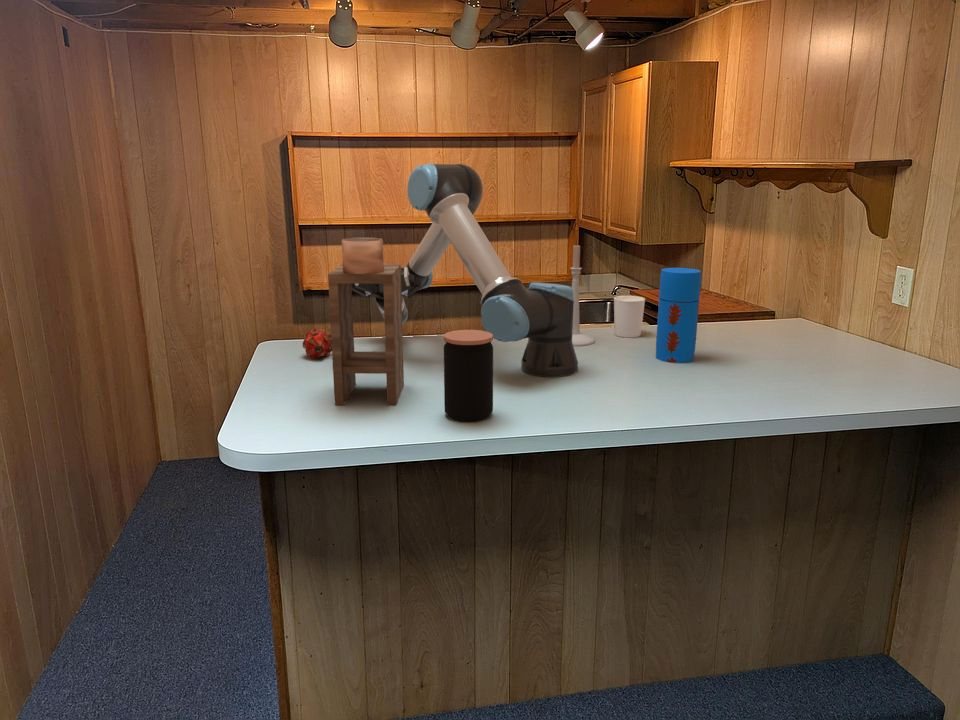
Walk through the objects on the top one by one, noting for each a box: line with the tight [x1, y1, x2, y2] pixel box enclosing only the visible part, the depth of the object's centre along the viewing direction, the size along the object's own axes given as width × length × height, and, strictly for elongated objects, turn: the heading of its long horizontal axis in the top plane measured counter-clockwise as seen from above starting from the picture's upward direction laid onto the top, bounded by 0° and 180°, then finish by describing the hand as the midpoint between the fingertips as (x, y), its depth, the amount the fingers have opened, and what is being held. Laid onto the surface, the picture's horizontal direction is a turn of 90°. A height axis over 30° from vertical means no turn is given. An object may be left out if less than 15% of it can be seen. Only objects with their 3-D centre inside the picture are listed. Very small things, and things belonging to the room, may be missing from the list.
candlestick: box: [569, 245, 595, 347], centre depth 221 cm, size 13×13×30 cm
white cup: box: [613, 295, 646, 339], centre depth 232 cm, size 10×10×12 cm
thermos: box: [655, 267, 702, 364], centre depth 202 cm, size 11×11×25 cm
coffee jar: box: [443, 329, 494, 423], centre depth 156 cm, size 11×11×18 cm
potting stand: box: [327, 263, 405, 406], centre depth 169 cm, size 16×14×30 cm
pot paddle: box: [341, 237, 385, 274], centre depth 169 cm, size 26×9×7 cm, turn 0°
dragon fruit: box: [302, 328, 332, 360], centre depth 206 cm, size 8×8×12 cm
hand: (379, 271), depth 186 cm, fingers open, 13 cm apart
